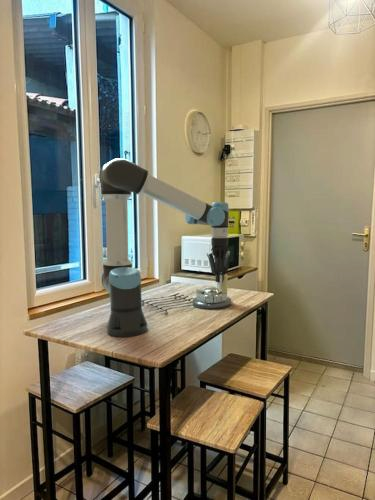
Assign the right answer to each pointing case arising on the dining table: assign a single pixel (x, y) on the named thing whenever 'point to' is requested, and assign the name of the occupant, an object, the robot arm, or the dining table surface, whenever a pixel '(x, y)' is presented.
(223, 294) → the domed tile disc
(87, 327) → the dining table surface
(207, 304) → the housing
